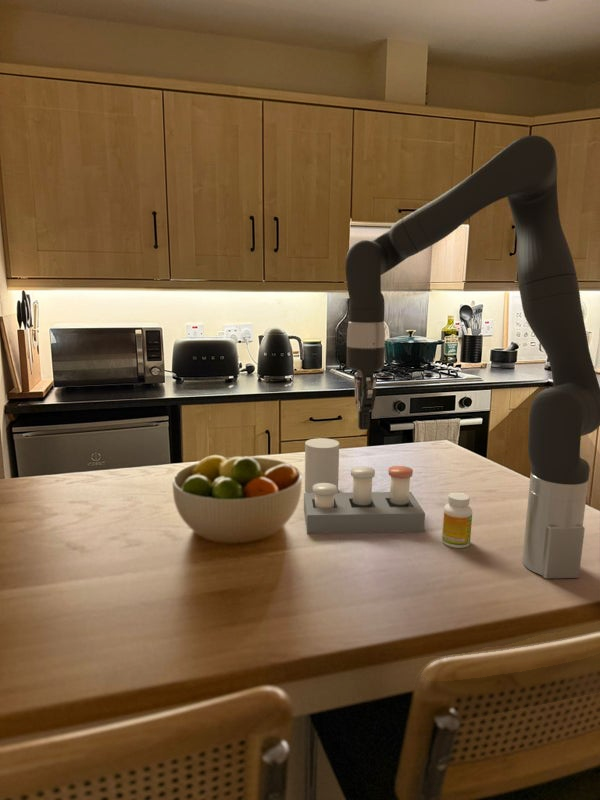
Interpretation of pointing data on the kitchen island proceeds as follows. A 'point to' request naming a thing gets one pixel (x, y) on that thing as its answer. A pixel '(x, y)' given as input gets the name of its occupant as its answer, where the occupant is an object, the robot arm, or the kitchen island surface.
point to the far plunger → (324, 495)
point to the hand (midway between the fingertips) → (363, 428)
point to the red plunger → (400, 484)
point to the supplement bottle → (457, 521)
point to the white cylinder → (321, 462)
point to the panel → (363, 515)
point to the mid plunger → (362, 484)
